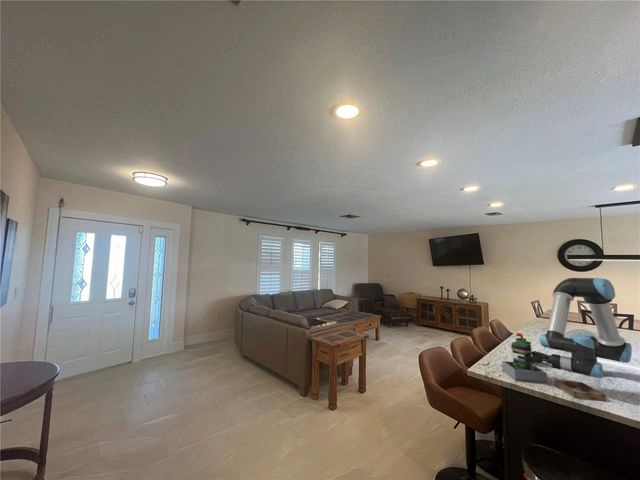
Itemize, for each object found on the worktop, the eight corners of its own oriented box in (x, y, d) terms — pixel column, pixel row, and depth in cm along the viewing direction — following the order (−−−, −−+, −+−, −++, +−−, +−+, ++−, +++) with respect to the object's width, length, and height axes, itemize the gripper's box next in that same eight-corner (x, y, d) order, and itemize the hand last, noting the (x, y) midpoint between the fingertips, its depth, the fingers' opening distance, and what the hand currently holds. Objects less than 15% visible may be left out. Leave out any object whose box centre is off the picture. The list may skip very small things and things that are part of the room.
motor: (537, 366, 173) (534, 335, 176) (522, 364, 175) (519, 334, 178) (528, 361, 183) (525, 332, 186) (514, 360, 185) (511, 331, 187)
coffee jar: (511, 373, 156) (508, 341, 159) (516, 371, 161) (513, 340, 163) (531, 378, 148) (527, 345, 151) (535, 376, 153) (532, 343, 156)
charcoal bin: (531, 373, 160) (530, 363, 161) (547, 383, 145) (546, 372, 146) (502, 370, 164) (501, 360, 164) (515, 380, 148) (514, 369, 149)
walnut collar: (582, 387, 140) (581, 382, 140) (606, 401, 125) (605, 394, 126) (554, 385, 143) (554, 379, 143) (574, 397, 128) (574, 391, 129)
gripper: (557, 374, 134) (508, 363, 150) (567, 365, 149) (522, 355, 165) (555, 359, 135) (507, 350, 151) (565, 351, 150) (521, 343, 166)
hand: (515, 352), depth 159 cm, fingers open, 13 cm apart
